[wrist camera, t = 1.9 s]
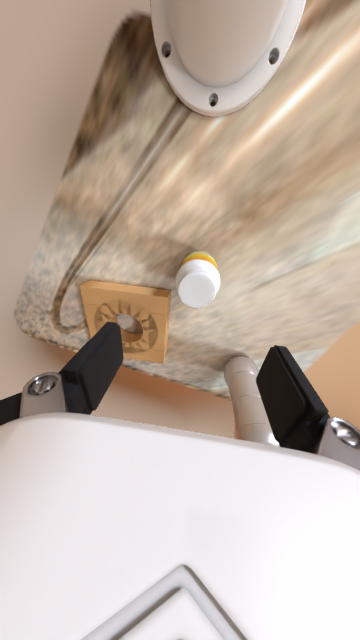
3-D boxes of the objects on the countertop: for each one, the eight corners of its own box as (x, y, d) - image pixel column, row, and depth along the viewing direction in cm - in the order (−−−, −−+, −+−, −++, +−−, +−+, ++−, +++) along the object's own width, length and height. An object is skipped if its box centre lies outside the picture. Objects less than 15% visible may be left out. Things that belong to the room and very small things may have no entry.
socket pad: (89, 279, 29) (78, 285, 26) (170, 290, 28) (167, 297, 26) (101, 343, 36) (93, 353, 34) (166, 353, 36) (163, 364, 33)
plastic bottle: (218, 371, 37) (232, 506, 19) (229, 348, 33) (259, 487, 16) (247, 378, 37) (286, 518, 20) (261, 356, 33) (325, 502, 16)
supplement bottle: (218, 282, 27) (224, 311, 19) (184, 288, 28) (177, 317, 20) (214, 246, 24) (220, 261, 16) (177, 254, 25) (165, 271, 17)
